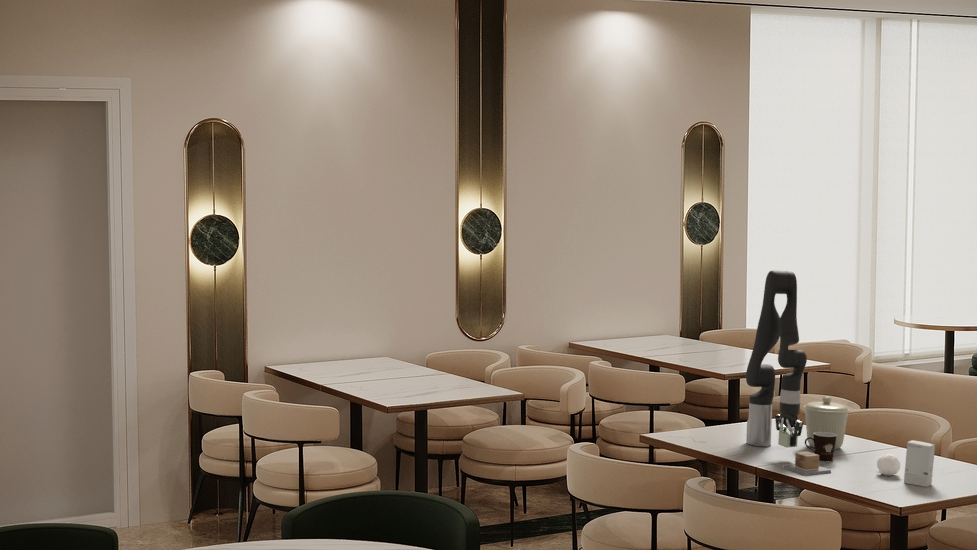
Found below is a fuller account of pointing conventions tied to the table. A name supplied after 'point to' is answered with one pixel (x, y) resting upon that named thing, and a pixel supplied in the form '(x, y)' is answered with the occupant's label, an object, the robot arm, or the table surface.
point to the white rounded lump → (888, 464)
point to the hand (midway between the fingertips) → (787, 444)
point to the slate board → (807, 472)
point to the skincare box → (919, 463)
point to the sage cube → (785, 439)
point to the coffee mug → (823, 445)
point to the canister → (826, 419)
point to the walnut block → (807, 460)
